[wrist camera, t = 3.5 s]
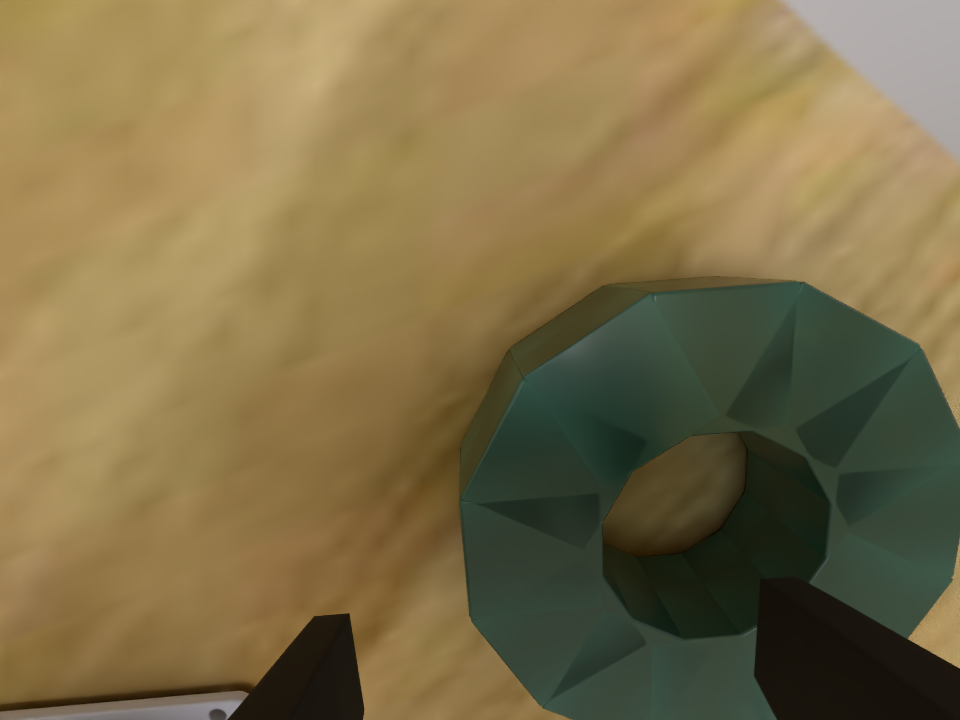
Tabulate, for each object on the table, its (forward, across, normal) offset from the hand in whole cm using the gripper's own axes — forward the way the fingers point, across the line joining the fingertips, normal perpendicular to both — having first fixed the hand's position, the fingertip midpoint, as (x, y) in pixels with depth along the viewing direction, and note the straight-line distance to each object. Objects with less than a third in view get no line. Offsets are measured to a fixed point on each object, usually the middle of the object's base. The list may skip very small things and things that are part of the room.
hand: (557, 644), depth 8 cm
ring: (+6, -4, 0) cm, 7 cm away
